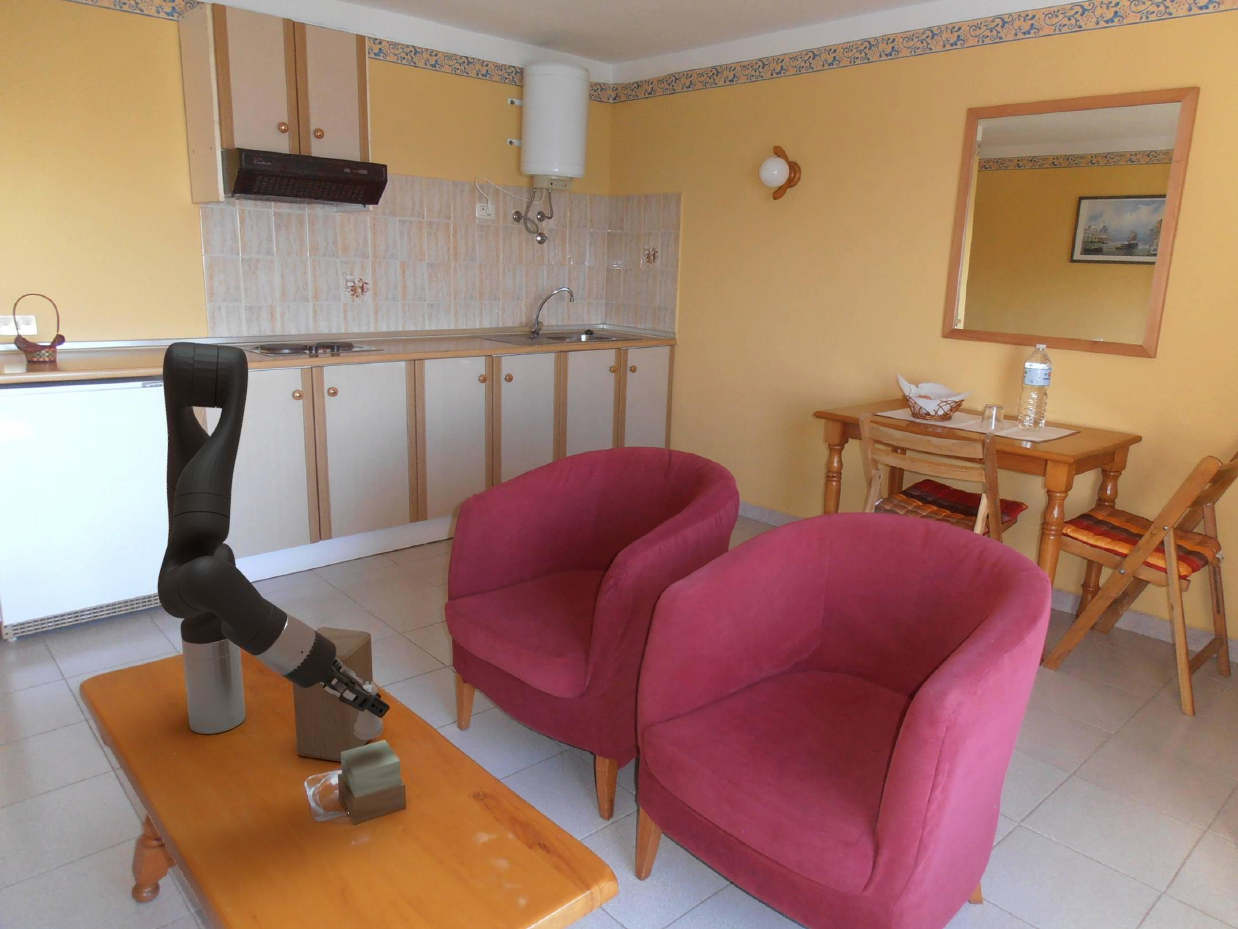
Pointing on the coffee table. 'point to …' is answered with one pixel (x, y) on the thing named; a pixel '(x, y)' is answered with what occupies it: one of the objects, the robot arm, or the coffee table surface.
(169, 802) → the coffee table surface
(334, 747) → the block
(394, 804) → the tower base
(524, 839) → the coffee table surface
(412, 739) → the coffee table surface
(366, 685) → the rook chess piece
